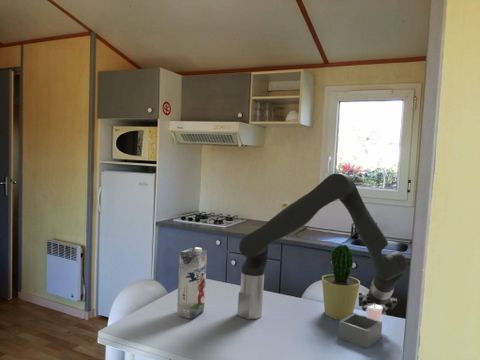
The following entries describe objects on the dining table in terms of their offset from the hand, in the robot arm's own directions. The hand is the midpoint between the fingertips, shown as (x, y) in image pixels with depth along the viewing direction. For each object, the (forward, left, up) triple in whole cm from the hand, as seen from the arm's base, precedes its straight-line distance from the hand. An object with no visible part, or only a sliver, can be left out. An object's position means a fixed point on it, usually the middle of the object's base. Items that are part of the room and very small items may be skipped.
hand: (373, 309), depth 154 cm
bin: (-13, -1, -7) cm, 15 cm away
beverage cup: (-1, -1, -7) cm, 7 cm away
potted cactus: (+1, +15, -7) cm, 17 cm away
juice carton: (-45, +55, -7) cm, 72 cm away
